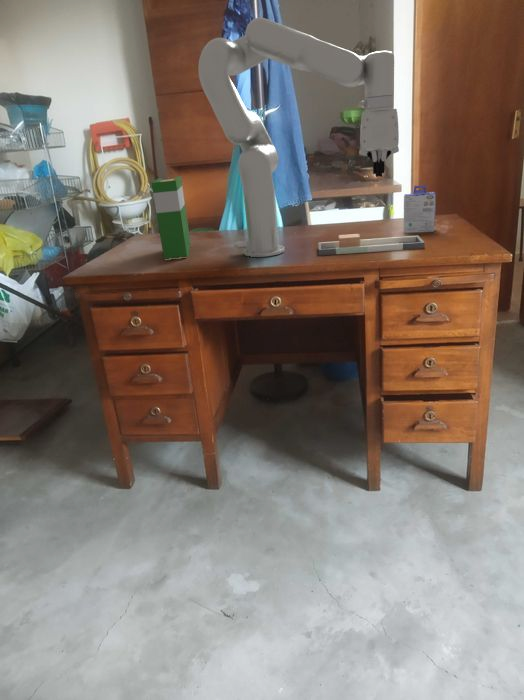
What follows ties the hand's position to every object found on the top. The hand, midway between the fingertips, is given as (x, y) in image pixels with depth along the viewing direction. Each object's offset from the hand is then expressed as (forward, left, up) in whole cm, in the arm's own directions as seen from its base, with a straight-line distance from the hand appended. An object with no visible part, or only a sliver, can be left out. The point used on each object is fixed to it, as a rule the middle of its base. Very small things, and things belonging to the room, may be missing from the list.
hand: (378, 176), depth 145 cm
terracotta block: (-9, 0, -20) cm, 22 cm away
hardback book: (-65, +13, -21) cm, 69 cm away
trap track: (-3, 0, -21) cm, 21 cm away
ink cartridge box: (+15, +21, -21) cm, 33 cm away
